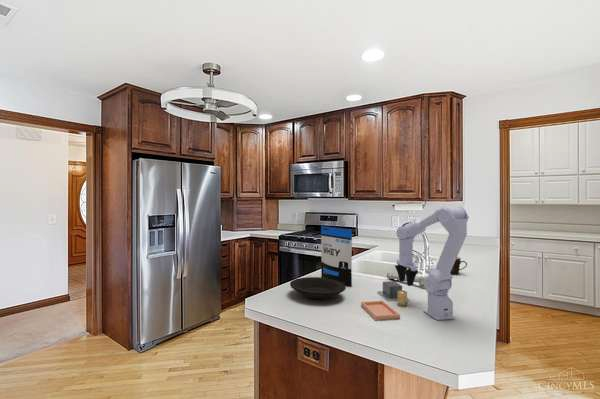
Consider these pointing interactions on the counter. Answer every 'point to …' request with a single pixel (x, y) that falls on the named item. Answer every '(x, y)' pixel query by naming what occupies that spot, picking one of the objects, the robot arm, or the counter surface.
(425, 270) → the showerhead
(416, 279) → the pale grey long piece
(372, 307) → the terracotta tray
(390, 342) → the counter surface
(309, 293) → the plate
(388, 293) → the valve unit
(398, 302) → the cylinder
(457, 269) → the coffee mug
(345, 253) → the protein powder
